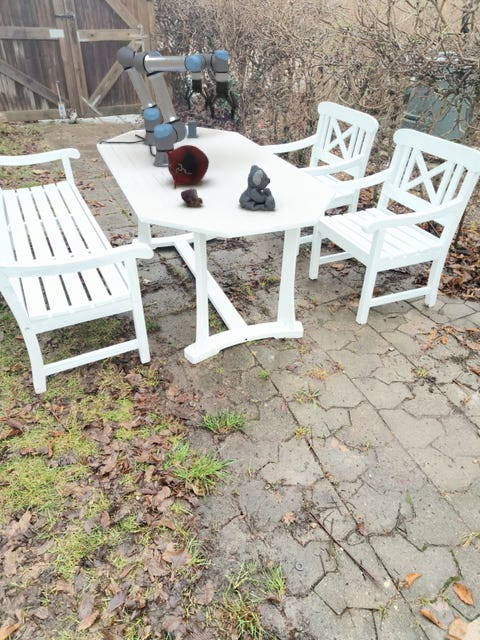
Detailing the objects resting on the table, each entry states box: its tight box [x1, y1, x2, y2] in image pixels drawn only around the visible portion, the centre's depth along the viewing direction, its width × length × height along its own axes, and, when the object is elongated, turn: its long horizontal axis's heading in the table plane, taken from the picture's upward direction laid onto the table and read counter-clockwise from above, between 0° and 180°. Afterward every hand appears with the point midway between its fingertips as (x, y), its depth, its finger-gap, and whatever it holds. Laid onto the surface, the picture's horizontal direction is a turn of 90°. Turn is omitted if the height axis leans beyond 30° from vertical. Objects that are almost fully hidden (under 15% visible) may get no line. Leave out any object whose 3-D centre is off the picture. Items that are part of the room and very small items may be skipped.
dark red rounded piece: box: [165, 144, 210, 189], centre depth 257 cm, size 21×24×25 cm
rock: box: [180, 188, 204, 207], centre depth 229 cm, size 12×9×10 cm
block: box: [187, 119, 198, 139], centre depth 355 cm, size 9×6×12 cm
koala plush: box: [238, 164, 276, 211], centre depth 224 cm, size 17×18×20 cm
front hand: (222, 119), depth 277 cm, fingers open, 13 cm apart
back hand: (198, 110), depth 343 cm, fingers open, 13 cm apart
